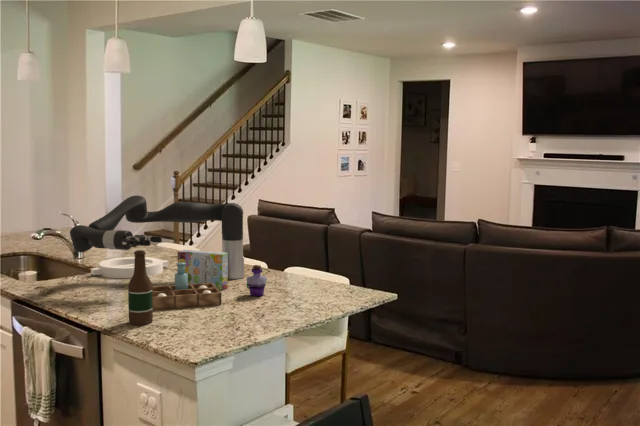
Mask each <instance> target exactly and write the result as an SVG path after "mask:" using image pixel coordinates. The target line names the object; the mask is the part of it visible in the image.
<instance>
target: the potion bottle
mask: <svg viewBox="0 0 640 426" xmlns="http://www.w3.org/2000/svg"><path fill="white" fill-rule="evenodd" d="M251 273H252V274H253V275H251V276H247V277H246V289H248V291H249V293H250V295H249V296H250V297H253V298H260V297H264V293H265V288H266V284H267V280H268V277H267V276H264V275H261V273H263V268H262V266H261V265H259V264H258V265H257V264H254V265H253V268H251Z"/></svg>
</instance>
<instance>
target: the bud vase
mask: <svg viewBox="0 0 640 426" xmlns="http://www.w3.org/2000/svg"><path fill="white" fill-rule="evenodd" d="M185 265H186V263H184V262H179V263H178V262H176V267H177V271H176V272H175V273H174V285H175V290H184V289H188V273H185Z"/></svg>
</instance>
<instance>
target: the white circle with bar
mask: <svg viewBox="0 0 640 426" xmlns="http://www.w3.org/2000/svg"><path fill="white" fill-rule="evenodd" d="M134 263H135V256H125V257H115V258H110V259H106V260H103V261H100V262H99V263H98V267H94V268H90V274H91V275H93V276H96V275H97V276H98V275H100V276H101V277H104V278H105V277H106V278H110V279H131V278H132V277H133V274H134ZM145 265H146V273H147V276H148V277H153V276H156V275H159V274H162V272H163V269H164V268H168V267H170V261H169V260H167V259H165V260H162V259H160V258H156V257H148V256H147V257H146V256H145Z"/></svg>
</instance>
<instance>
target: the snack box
mask: <svg viewBox="0 0 640 426" xmlns="http://www.w3.org/2000/svg"><path fill="white" fill-rule="evenodd" d="M179 262H184V263H186V265H185V273H188V284H201V283H213V284H214V285H215V286H216V287H217V288H218V289H219V291H223V290H227V289H228V287H229V285H228V284H229V283H228V280H229V279H228V253H224V252H222V251H207V250H196V249H195V250H193V249H181V250H178V251H177V263H179Z"/></svg>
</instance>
